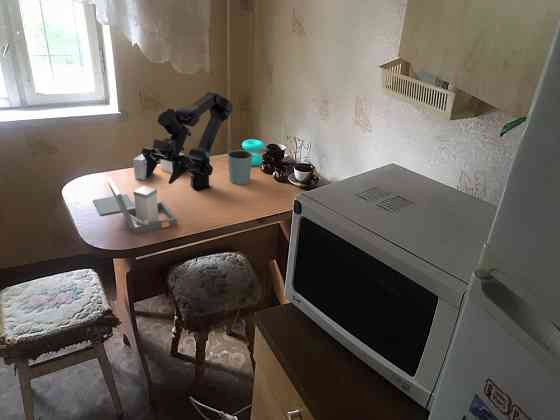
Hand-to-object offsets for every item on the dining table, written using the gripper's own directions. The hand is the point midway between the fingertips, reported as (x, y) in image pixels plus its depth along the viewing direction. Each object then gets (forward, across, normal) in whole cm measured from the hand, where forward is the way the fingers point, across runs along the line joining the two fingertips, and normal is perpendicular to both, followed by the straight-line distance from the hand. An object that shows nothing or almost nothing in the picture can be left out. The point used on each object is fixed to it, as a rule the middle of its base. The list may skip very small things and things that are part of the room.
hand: (158, 180), depth 146 cm
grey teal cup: (-19, +10, +37) cm, 43 cm away
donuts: (-34, +6, +52) cm, 63 cm away
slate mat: (+11, -18, +7) cm, 22 cm away
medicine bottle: (-16, -20, +34) cm, 42 cm away
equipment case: (+14, -1, +4) cm, 15 cm away
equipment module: (+14, 0, +4) cm, 15 cm away
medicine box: (-7, -25, +26) cm, 37 cm away
